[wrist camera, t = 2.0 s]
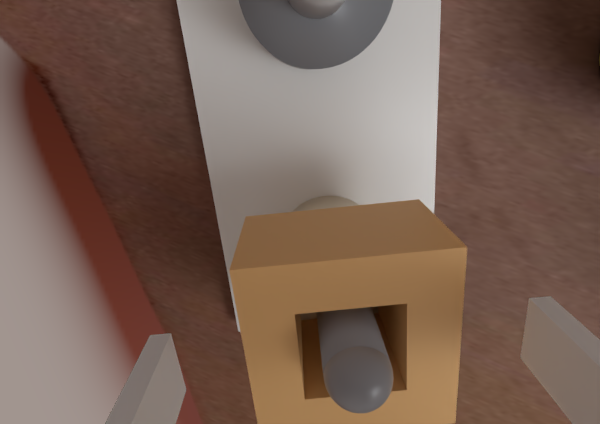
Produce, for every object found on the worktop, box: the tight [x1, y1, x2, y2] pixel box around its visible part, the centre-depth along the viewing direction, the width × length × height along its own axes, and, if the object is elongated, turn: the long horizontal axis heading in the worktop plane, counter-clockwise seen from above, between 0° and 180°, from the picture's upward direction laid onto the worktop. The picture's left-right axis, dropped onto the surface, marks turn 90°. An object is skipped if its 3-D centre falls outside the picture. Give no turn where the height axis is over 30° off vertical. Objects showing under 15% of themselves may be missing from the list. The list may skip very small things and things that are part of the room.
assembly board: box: [176, 0, 441, 413], centre depth 16 cm, size 25×13×13 cm, turn 5°
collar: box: [229, 199, 467, 424], centre depth 16 cm, size 8×8×5 cm
